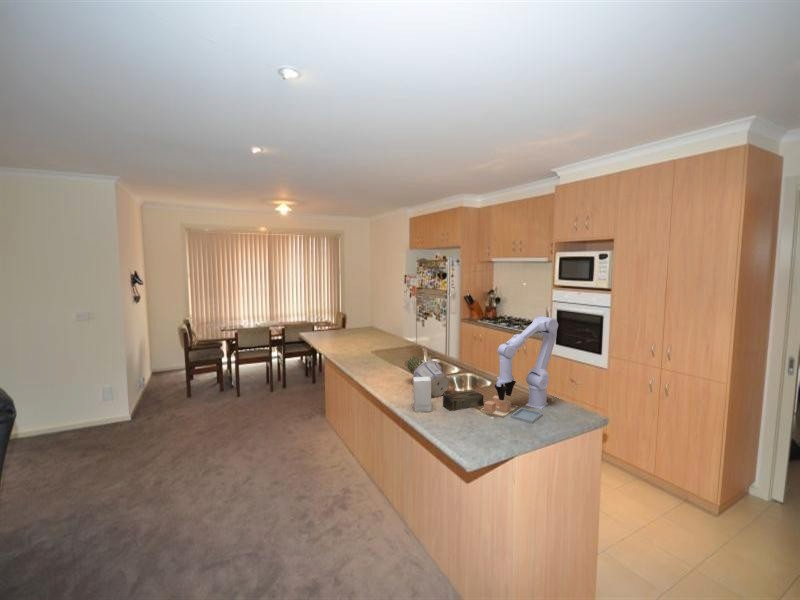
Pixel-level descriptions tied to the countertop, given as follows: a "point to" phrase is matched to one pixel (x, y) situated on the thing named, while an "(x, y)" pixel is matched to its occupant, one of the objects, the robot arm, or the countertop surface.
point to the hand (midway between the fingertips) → (504, 397)
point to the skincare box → (422, 394)
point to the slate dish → (526, 415)
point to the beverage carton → (462, 400)
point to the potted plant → (430, 374)
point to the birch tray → (500, 413)
